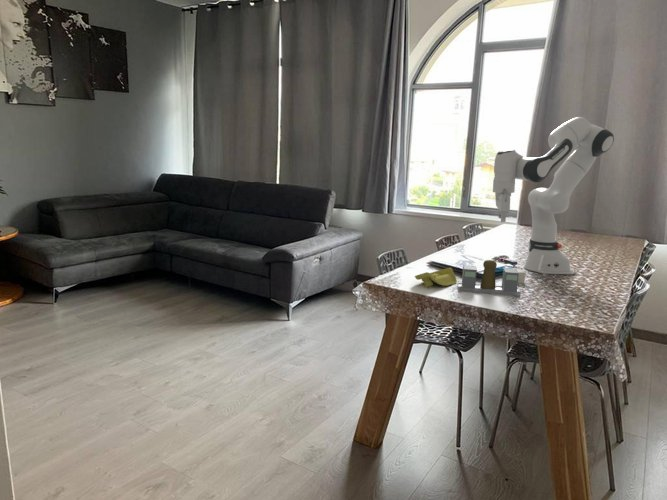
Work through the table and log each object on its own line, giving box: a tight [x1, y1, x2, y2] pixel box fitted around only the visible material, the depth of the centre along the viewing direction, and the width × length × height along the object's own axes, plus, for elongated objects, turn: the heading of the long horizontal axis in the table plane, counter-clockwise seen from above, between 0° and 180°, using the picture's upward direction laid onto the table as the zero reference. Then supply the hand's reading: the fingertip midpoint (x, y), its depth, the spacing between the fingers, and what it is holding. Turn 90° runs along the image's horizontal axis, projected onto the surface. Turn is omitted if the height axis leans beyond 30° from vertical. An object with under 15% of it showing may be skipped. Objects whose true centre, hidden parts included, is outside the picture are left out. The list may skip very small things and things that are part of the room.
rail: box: [457, 281, 521, 297], centre depth 201 cm, size 24×7×2 cm, turn 78°
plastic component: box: [414, 267, 458, 288], centre depth 209 cm, size 20×7×10 cm
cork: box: [480, 259, 498, 289], centre depth 200 cm, size 6×6×11 cm
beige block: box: [516, 268, 526, 284], centre depth 216 cm, size 4×5×5 cm
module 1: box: [461, 264, 478, 289], centre depth 201 cm, size 5×7×8 cm
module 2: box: [501, 267, 519, 293], centre depth 198 cm, size 5×7×8 cm
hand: (501, 220), depth 214 cm, fingers open, 8 cm apart
